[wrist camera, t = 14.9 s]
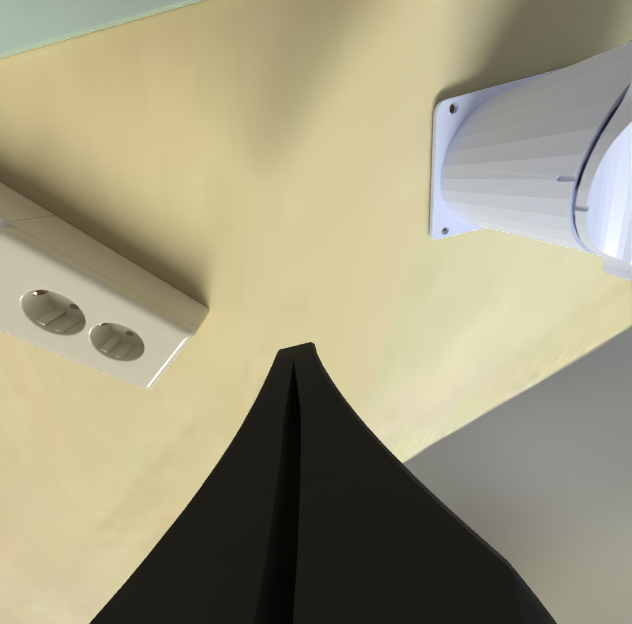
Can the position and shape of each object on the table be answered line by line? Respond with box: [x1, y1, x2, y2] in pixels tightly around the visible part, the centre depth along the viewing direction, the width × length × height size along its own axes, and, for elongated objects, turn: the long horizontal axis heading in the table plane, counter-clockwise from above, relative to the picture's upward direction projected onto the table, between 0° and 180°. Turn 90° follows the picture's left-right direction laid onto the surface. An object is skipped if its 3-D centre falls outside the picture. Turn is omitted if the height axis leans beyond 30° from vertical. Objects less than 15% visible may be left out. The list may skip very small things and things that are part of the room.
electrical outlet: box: [0, 182, 209, 390], centre depth 15 cm, size 7×4×18 cm
